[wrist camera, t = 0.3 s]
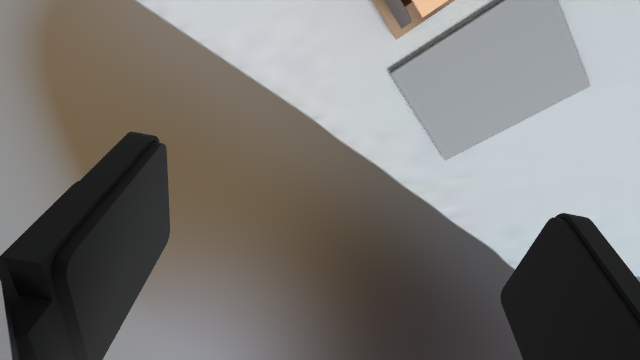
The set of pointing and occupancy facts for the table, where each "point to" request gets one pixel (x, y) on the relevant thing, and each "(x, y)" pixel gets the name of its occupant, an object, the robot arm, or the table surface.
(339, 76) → the table surface
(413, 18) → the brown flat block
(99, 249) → the robot arm
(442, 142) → the rubber mat
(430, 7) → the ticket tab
